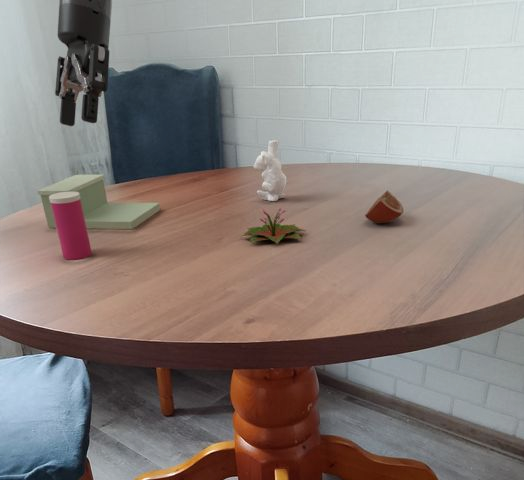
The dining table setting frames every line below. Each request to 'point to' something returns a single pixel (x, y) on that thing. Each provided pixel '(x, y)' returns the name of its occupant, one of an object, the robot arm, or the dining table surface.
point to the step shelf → (97, 204)
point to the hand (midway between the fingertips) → (77, 123)
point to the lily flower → (273, 230)
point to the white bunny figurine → (271, 173)
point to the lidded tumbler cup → (70, 225)
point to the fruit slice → (385, 209)
